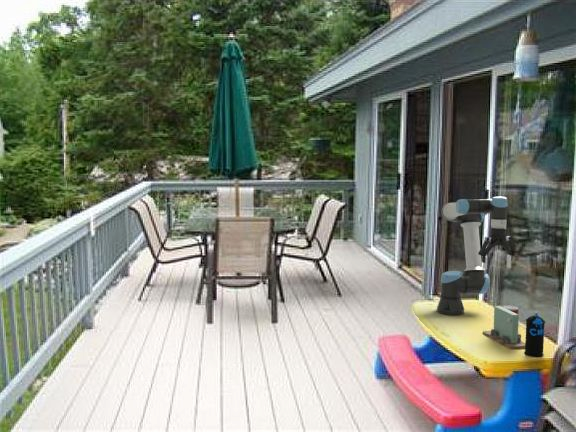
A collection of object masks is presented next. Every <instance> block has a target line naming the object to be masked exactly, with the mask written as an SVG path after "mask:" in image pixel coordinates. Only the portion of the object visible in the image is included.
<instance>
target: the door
mask: <svg viewBox="0 0 576 432" xmlns="http://www.w3.org/2000/svg"><path fill="white" fill-rule="evenodd" d="M493 308H494V310H493V313H494V314H493V330H495V331H497V336H499V337H501V338H502V336H503V335H504V336H506V337H508V338H509V342H510V343H512V344H513V343H518V334H519V320H520V319H519V318H520V317H519V316H520V315H519V313H518V314H516V313H514V312H512V311H510V310H508V309H505V308H503V307H502V305H494V307H493Z"/></svg>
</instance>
